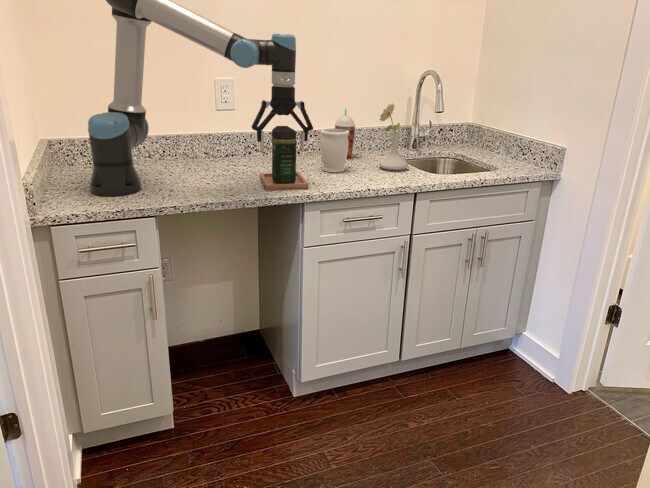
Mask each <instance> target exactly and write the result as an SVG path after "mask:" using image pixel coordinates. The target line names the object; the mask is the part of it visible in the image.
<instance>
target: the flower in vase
mask: <svg viewBox="0 0 650 488" xmlns="http://www.w3.org/2000/svg"><path fill="white" fill-rule="evenodd" d="M394 110H395V104H394V103H393V102H392V103H390V104H388V105H387V106H386V108H384V109H383V110H382V111H383V112H382V113H381V114H380V116H379V120H380V122H385V121H386V120H387V119H389V118H390V121H391V124H389V125H387V126H386V127H385V130H384V131H385V132H386V131H387V132H389V131H391V129H393V131H391V132H389V133H388V134H389V136H390V138H391V139H390V140H391V150H390V152H389V153H388V154H387V155H386V156H385V157H383V158H382V159H381V160H379V162H378V166H379V167H381V168H383V169H384V170H390V171H401V170H404V169H407V167H409V163H408V162H407V160H406V159H405V158H403V156H401V155H400V154H399V151H398V148H399V141H400V138H401V137H402V135H403V132H400V131H399V132H397V130H400V129H401V125H400V122H398V123H397V124H395V125H394V121H393V119H392V114H393V112H394Z"/></svg>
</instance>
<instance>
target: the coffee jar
mask: <svg viewBox="0 0 650 488" xmlns="http://www.w3.org/2000/svg"><path fill="white" fill-rule="evenodd" d="M271 161H272V162H271V163H272V164H271V173H272V179H273V181H274V182H275V183H281V184H289V183H294V182H295V181H296V172H297V131H296V130H295V129H294V128H291V127H289V126H288V125H276V126H275V127H274V128H272V131H271Z"/></svg>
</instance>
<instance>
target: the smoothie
mask: <svg viewBox="0 0 650 488" xmlns="http://www.w3.org/2000/svg"><path fill="white" fill-rule="evenodd" d="M334 129H343V130H347V131H349V134H348V135H347V137H348V153H347V159H346V160H349V159H351V157H352V155H353V150H354V148H353V147H354V141H355V139H354V138H355V131H356V130H355V129H356V123H355V122H354V120H353V118H352V117H350V116H348V115H347V108H344V115H341V116H340V117H338V119H337V120H336V123H335V124H334Z"/></svg>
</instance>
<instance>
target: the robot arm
mask: <svg viewBox="0 0 650 488" xmlns="http://www.w3.org/2000/svg"><path fill="white" fill-rule="evenodd" d="M105 1H106V3H107V5H109V6H111V17H113V19H114V20H115V22H116V28H115V29H116V33H115V34H116V35H115V55H114V79H113V80H114V81H113V100H112V101H111V102H110V103H109V104H108V106H107V112H102V113H97V114H94V115H91V116H90V118H89V119H88V121H87V132H88V137H89V142H90V143H89V144H90V150H91V157H92V158H91V159H92V166H93V169H92V175H91V179H90V183H89V188H90V192H91V193H92V194H93V195H96V196H104V197H117V196H118V197H119V196H126V195H131V194H134V193H138V192H140V191H141V190H142V182H141V179H140V177H139V174H138V173H137V170H136V168H135V166H134V160H133V152H132V149H134V148H137V147H138V146H140V145H142V144H143V142H145V140H146V138H147V137H148V135H149V129H150V128H149V127H150V126H149V122H148V120H147V119H146V114H147V110H146V108H145V107H144V105H142V99H143V87H144V86H143V84H144V67H145V52H146V51H145V50H146V36H147V35H146V33H147V28H148V26H149V25H150V24H152V23H155V24H156V25H159V26H161V27H162V28H164V29H167V30H169V31H171V32H173V33H175V34H177V35H179V36H181V37H183V38H185V39H187V40H189V41H191V42H193V43H195V44H197V45H199V46H202V47H203V48H206V49H208V50H209V51H211V52H214V53H215V54H217V55H220V56H221V57H223V58H226V59H227V60H229V61H231V62H233V64H235V65H236V66H238V67H240V68H242V69H248V68H251V67H253V66H271V84H272V86H271V100H270V101H268V100H265V99H263V100H261V103H260V108H259V111H258V112H257V115H256V116H255V119H254V121H253V123H252V124H251V129H252V131H256V140H257V142H259V143H260V152H261V153H264V152H265V145H264V144H265V142H264V141H265V132H264V131H263V130H264V129H265V127H266V126H267V125H268V124H269V123H270V121H271V120H273V118H274V117H275V116H276V115H277V116H289V115H291V117H292V119H294V120H295V122H296V123H297V124H298V125H299V126H300V128H301V129H302V130H300V144H299V145H300V151H301V152H302V153H304V152H305V142H308V133H309V132H310V131H314V126H313V124H312V122H311V119H310V117H309V115H308V113H307V110H306V108H305V107H306V106H305V102H304V101H303V100H299V101H296V88H295V85H296V60H297V45H296V43H297V41H296V37H295V35H294V34H291V33H289V34H286V33H273V34H272V35H271V39H266V40H265V39H254V38H247V37H244V36H243V35H240V34H237V32H234V31H232V30H230V29H229V28H226V27H225V26H222V25H220V24H219V23H216V22H214V21H212V20H211V19H209V18H206V17H204V16H202V15H201V14H199V13H196V12H194V11H193V10H190V9H188V8H187V7H184V6H183V5H181V4H179V3H177V2H175V1H174V0H105ZM269 106H270V107H271V108H272V109H271V110H270V111H269V113H268V114H267V116H266V117H265V118H264V119H263V121H261V119H262V117H263V116H264V114H265V111H266V109H267V108H269ZM296 107H297V108H298V109H300V112H301V114H302V118H303V119H304V122H305V124H306V125H307V126H306V125H305V124H304V122H303V121H302V120H301V119H300V117H299V116H298V115H297V113H295V111H294V110H295V109H296ZM260 121H261V122H260ZM259 123H260V124H259Z"/></svg>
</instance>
